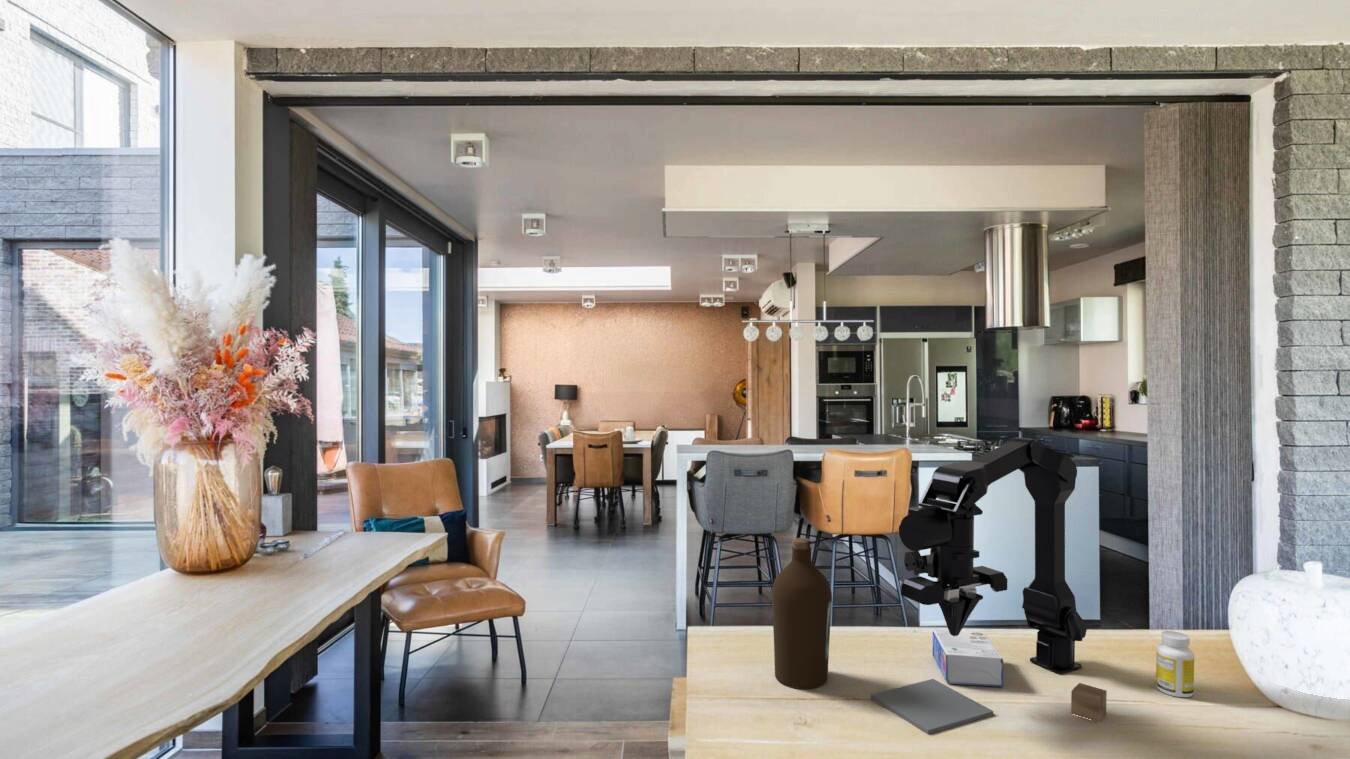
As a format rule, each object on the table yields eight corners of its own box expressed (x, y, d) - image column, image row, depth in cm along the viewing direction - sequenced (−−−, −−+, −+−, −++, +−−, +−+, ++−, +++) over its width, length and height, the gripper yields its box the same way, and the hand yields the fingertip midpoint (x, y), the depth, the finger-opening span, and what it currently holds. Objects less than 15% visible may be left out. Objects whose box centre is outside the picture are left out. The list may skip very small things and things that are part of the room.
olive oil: (776, 691, 126) (777, 548, 125) (767, 665, 136) (767, 532, 136) (838, 690, 126) (839, 547, 125) (823, 664, 137) (824, 532, 136)
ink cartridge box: (1004, 689, 127) (982, 653, 141) (1005, 658, 127) (983, 626, 141) (944, 685, 128) (928, 650, 143) (945, 654, 128) (929, 622, 142)
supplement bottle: (1189, 687, 127) (1191, 632, 127) (1197, 701, 122) (1198, 643, 122) (1153, 681, 129) (1154, 627, 129) (1158, 694, 125) (1159, 638, 124)
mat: (933, 682, 129) (933, 678, 129) (993, 714, 118) (993, 711, 118) (870, 698, 123) (870, 694, 123) (927, 734, 112) (927, 730, 112)
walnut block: (1078, 706, 121) (1079, 682, 120) (1106, 715, 118) (1106, 690, 118) (1071, 715, 118) (1071, 690, 118) (1098, 723, 115) (1099, 698, 115)
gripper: (958, 527, 133) (957, 611, 134) (878, 537, 125) (877, 627, 126) (1010, 541, 123) (1008, 632, 123) (926, 553, 115) (925, 651, 115)
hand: (954, 635), depth 122 cm, fingers closed
